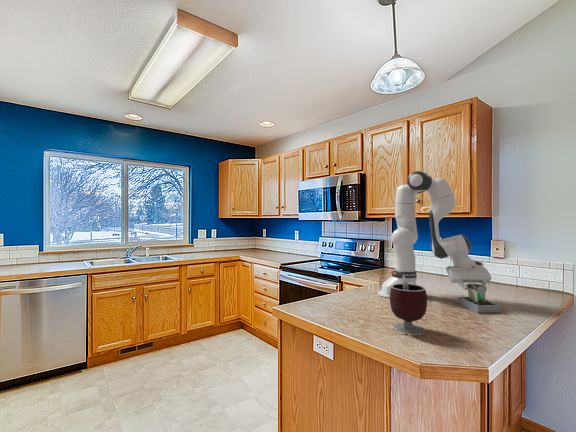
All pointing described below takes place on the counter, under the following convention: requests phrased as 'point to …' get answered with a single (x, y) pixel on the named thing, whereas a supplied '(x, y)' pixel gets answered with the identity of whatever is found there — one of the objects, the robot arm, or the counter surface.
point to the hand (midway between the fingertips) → (475, 289)
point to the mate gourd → (408, 306)
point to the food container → (477, 294)
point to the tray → (479, 306)
